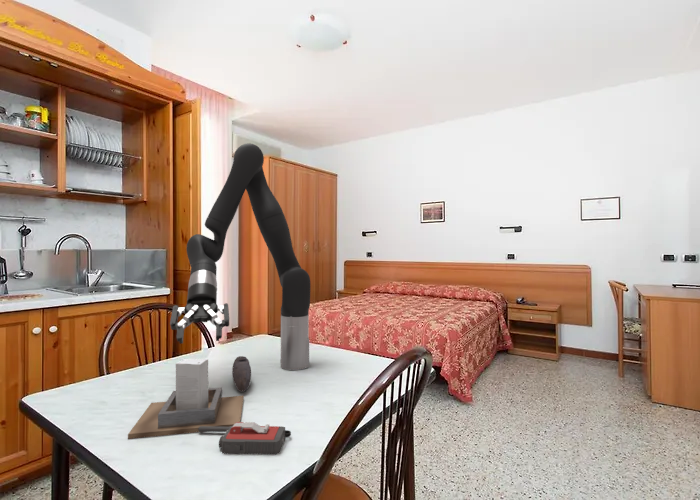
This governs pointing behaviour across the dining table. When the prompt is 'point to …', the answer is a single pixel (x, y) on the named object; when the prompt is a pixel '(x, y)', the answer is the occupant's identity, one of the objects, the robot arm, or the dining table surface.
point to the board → (149, 426)
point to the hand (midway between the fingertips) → (199, 340)
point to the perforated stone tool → (241, 373)
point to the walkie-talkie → (250, 438)
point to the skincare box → (192, 384)
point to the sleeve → (190, 412)
